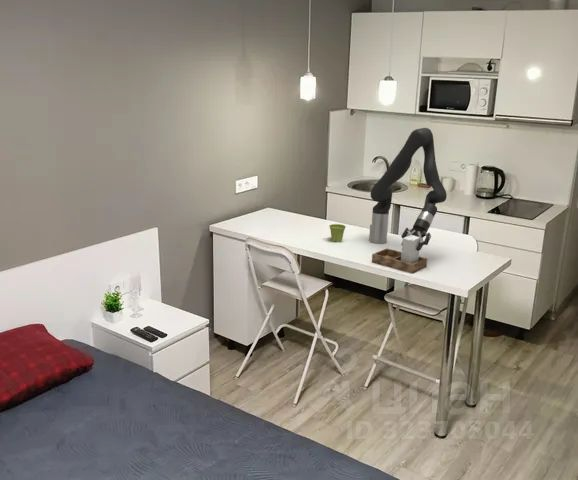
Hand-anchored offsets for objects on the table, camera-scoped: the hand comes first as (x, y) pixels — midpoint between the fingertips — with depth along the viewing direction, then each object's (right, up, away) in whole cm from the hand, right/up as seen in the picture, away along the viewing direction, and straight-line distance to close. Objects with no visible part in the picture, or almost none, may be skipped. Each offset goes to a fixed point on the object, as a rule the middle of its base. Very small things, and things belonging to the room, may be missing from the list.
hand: (410, 248), depth 307 cm
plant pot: (-33, +4, +45) cm, 56 cm away
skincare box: (0, -9, +3) cm, 9 cm away
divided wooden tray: (-4, -8, +7) cm, 12 cm away
